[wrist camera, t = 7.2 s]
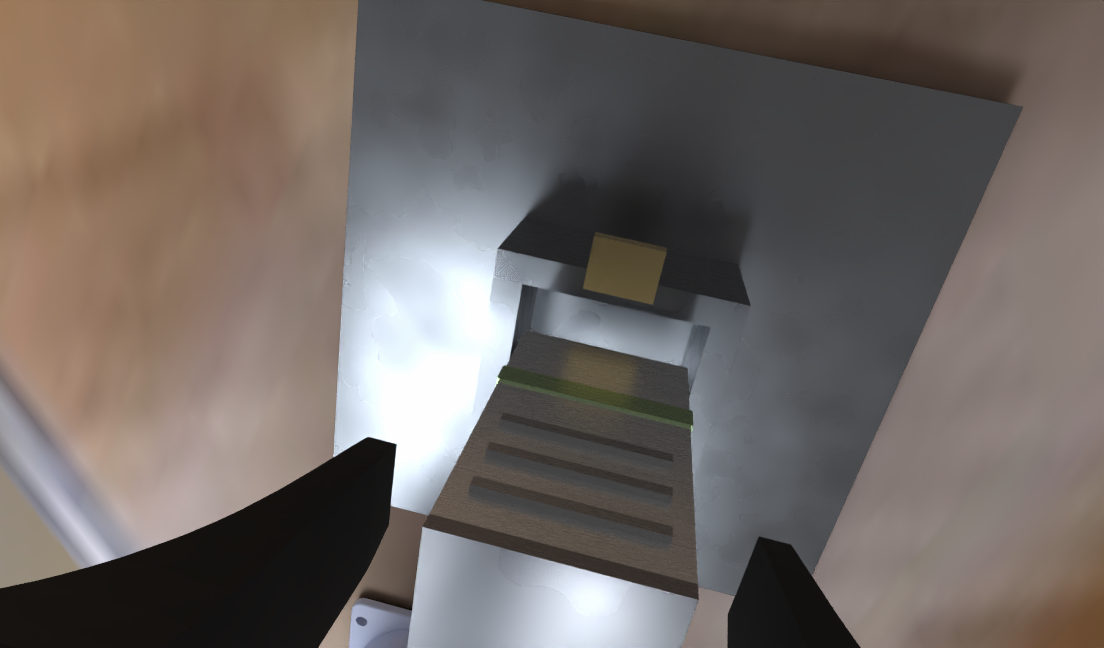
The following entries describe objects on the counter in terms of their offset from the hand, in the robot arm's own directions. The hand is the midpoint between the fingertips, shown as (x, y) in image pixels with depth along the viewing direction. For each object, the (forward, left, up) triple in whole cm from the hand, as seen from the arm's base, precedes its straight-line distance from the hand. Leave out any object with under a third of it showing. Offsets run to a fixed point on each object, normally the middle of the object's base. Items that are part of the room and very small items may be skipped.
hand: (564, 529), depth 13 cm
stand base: (0, 0, -10) cm, 10 cm away
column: (0, 0, -4) cm, 4 cm away
